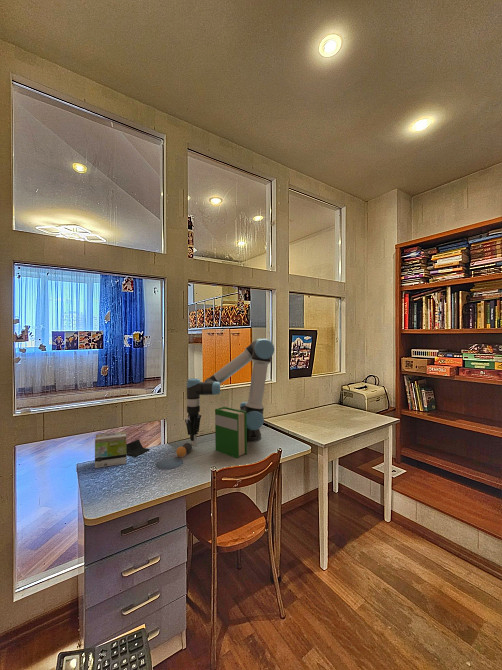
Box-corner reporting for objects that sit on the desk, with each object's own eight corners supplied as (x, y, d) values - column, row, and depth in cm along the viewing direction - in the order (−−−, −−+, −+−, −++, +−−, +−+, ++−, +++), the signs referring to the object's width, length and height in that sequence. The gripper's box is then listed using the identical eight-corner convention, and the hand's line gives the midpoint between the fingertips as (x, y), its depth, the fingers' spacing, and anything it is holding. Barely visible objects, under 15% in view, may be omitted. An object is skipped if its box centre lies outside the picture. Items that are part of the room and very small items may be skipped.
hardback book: (246, 454, 171) (246, 411, 171) (237, 458, 165) (237, 414, 165) (224, 446, 183) (224, 406, 182) (215, 450, 177) (215, 409, 177)
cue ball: (188, 443, 171) (186, 454, 170) (194, 443, 176) (193, 453, 175) (180, 442, 174) (179, 452, 173) (187, 441, 178) (186, 451, 177)
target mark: (188, 460, 163) (188, 460, 163) (171, 471, 151) (171, 471, 151) (168, 456, 169) (168, 455, 169) (149, 466, 157) (149, 466, 157)
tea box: (94, 469, 154) (94, 440, 154) (95, 461, 164) (95, 434, 163) (126, 463, 160) (126, 435, 160) (126, 456, 170) (126, 430, 169)
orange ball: (188, 454, 170) (187, 445, 170) (182, 459, 165) (181, 450, 165) (180, 453, 173) (179, 443, 172) (174, 458, 168) (173, 448, 167)
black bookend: (139, 454, 168) (130, 438, 171) (129, 462, 169) (121, 446, 172) (151, 450, 179) (143, 435, 182) (142, 457, 180) (134, 442, 183)
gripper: (194, 402, 187) (195, 441, 187) (181, 407, 175) (181, 448, 175) (205, 403, 183) (205, 443, 183) (191, 408, 172) (191, 450, 172)
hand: (193, 445), depth 179 cm, fingers closed
